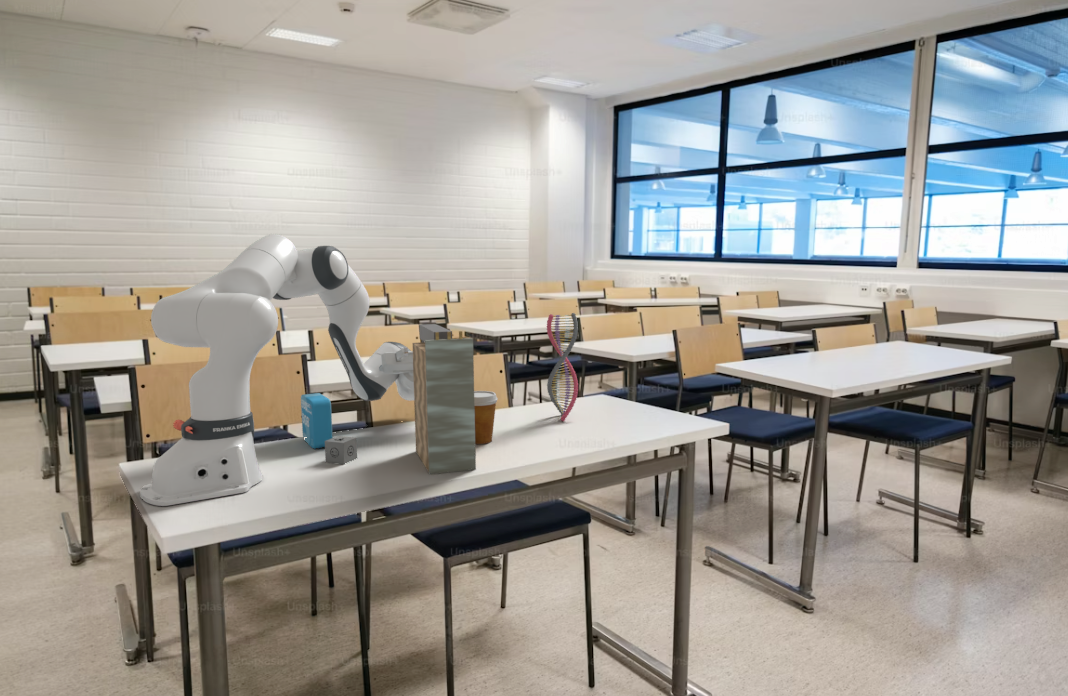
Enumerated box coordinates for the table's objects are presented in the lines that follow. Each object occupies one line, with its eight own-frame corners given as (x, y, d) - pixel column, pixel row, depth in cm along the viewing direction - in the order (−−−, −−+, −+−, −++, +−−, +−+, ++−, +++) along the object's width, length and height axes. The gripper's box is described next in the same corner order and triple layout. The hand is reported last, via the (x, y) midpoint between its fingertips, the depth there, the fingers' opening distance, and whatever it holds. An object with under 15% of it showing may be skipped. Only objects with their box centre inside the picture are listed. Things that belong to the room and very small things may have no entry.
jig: (415, 451, 166) (411, 325, 162) (457, 447, 169) (454, 323, 165) (429, 474, 148) (425, 333, 144) (475, 469, 151) (472, 331, 147)
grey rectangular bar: (419, 338, 171) (419, 324, 171) (436, 338, 172) (435, 324, 172) (434, 348, 152) (434, 332, 152) (452, 347, 154) (452, 331, 153)
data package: (302, 439, 178) (300, 393, 177) (320, 437, 180) (318, 391, 179) (314, 450, 168) (312, 401, 166) (333, 447, 170) (331, 399, 169)
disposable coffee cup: (499, 436, 179) (499, 390, 178) (496, 446, 170) (495, 397, 169) (463, 436, 180) (462, 390, 178) (457, 446, 170) (456, 397, 169)
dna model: (546, 421, 195) (546, 314, 192) (547, 414, 204) (546, 312, 200) (578, 421, 195) (578, 314, 191) (578, 414, 204) (577, 312, 200)
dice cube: (325, 462, 158) (324, 441, 157) (338, 456, 162) (337, 435, 162) (344, 464, 156) (343, 442, 155) (357, 458, 160) (356, 437, 160)
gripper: (377, 361, 188) (381, 339, 176) (452, 357, 194) (460, 336, 182) (379, 382, 186) (383, 362, 174) (454, 378, 192) (463, 358, 180)
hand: (423, 349), depth 178 cm, fingers open, 8 cm apart
